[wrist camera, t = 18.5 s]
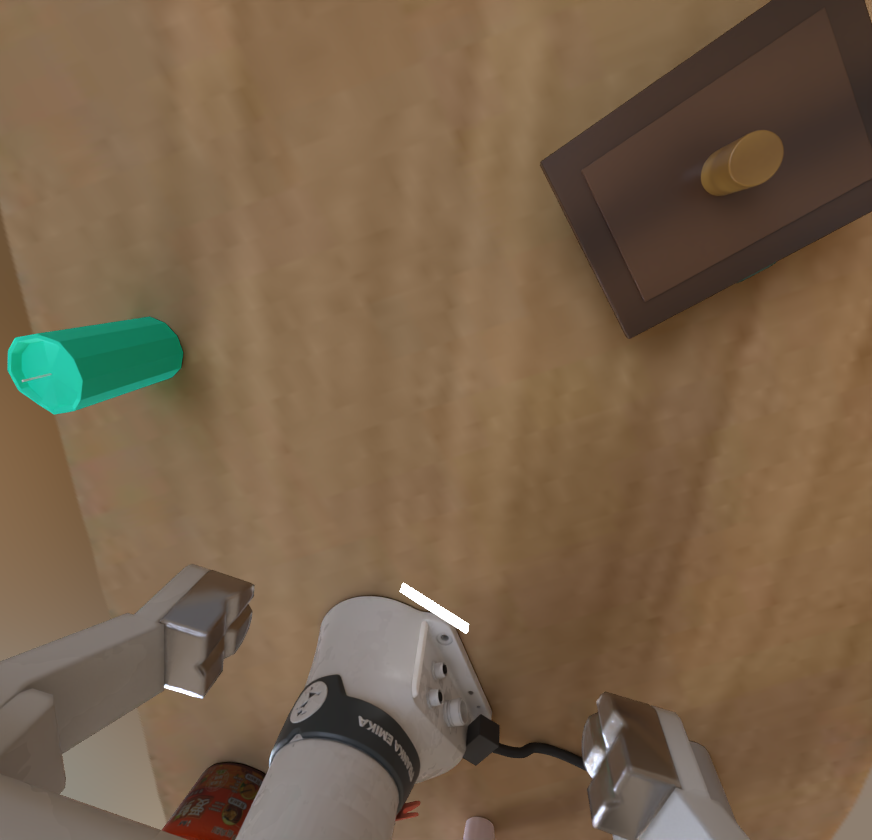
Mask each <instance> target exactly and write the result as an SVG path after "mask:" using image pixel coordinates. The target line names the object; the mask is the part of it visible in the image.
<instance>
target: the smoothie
mask: <svg viewBox="0 0 872 840" xmlns="http://www.w3.org/2000/svg"><path fill="white" fill-rule="evenodd" d="M463 840H495V834H494V826H493V824H492V823H491V822H490V821H489V820H487V819H485V818H482V817H471V818H469V819H468V820H467V821H466V826H465V831H464V837H463Z"/></svg>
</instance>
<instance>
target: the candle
mask: <svg viewBox="0 0 872 840" xmlns="http://www.w3.org/2000/svg"><path fill="white" fill-rule="evenodd" d="M182 359H183V350H182V348H181V345H180V342H179V339H178V336H177V335H176V334H175V333H174V332H173V331H172V330H171V329H170V328H169V326H168V325H167V324H166V323H164V322H162V321H159V320H157V319H154V318H152V317H144V318H137V319H131V320H124V321H117V322H111V323H104V324H98V325H91V326H85V327H78V328H71V329H65V330H58V331H52V332H45V333H38V334H33V335H27V336H21V337H16V338H15V339H14V341H13V343H12V345H11V346H10V348H9V350H8V372H9V374H10V376H11V378H12V380H13V381H14V383H15V385H16V387H17V389H18V390H19V391H20V392H21V393H23V394H24V395H26V396H27V397H28V398H30V399H31V400H33V401H34V402H36V403H37V404H38V405H40V406H42V407H43V408H45V409H46V410H48V411H50V412H51V413H53V414H60V413H66V412H71V411H76V410H79V409H82V408H84V407H87V406H90V405H93V404H96V403H99V402H102V401H105V400H108V399H111V398H114V397H117V396H120V395H122V394H125V393H128V392H131V391H134V390H137V389H140V388H143V387H146V386H149V385H152V384H155V383H157V382H160V381H163V380H166V379H169V378H172V377H173V376H174V375H175V374H176V373H177V372H178V371H179V370H180V369H181V366H182Z"/></svg>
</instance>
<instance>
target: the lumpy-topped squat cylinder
mask: <svg viewBox="0 0 872 840" xmlns="http://www.w3.org/2000/svg"><path fill="white" fill-rule="evenodd" d="M689 742H690V745H691V747H692V750H693V753H694V755H695V758H696V761H697V763H698V766H699V768H700V771H701V774H702V776H703V779H704V781H705V784H706V787H707V789H708V792H709V795H710V797H711V799H713V800H716V801H718V802H720V804H721V805H722V806H723V807H724V808H725V810H726V811H727V812H728V813H729V814H730V816H731V817H732V818H733V819H734V820H735V817H734V815H733V812H732V810H731V807H730V805H729V802H728V800H727V797H726V795H725V792H724V790H723V787H722V785H721V782H720V780H719V777H718V775H717V772H716V770H715V767H714V765H713V763H712V760H711V758H710V755H709V753H708V751H707V750H706V749H705V748H704V747H703V746H702V745H700V744H698V743H695V742H691V741H689ZM735 822H736V820H735ZM736 823H737V822H736ZM613 839H614V840H627V839H624V838H621V837H619V836H616V835H613Z"/></svg>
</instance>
